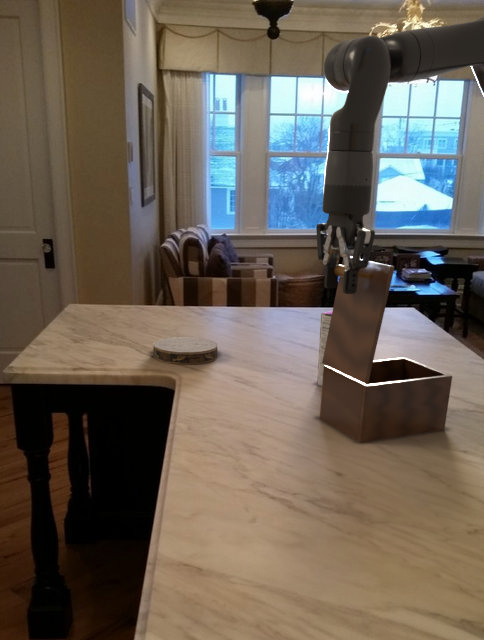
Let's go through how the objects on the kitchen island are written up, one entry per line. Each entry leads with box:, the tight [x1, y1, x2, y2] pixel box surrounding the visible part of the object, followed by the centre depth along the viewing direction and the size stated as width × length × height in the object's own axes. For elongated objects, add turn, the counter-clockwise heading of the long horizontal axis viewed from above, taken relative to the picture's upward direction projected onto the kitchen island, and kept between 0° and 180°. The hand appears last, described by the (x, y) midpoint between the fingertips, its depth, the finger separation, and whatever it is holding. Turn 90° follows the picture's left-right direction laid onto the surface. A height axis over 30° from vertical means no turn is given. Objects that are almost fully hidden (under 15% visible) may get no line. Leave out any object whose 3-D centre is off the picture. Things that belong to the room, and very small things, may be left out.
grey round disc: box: [152, 336, 218, 365], centre depth 175 cm, size 16×16×3 cm
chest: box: [319, 357, 453, 444], centre depth 130 cm, size 19×14×11 cm
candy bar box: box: [316, 310, 333, 387], centre depth 154 cm, size 11×5×16 cm, turn 137°
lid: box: [322, 256, 395, 384], centre depth 120 cm, size 19×14×5 cm
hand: (339, 290), depth 118 cm, fingers closed on lid, 5 cm apart
